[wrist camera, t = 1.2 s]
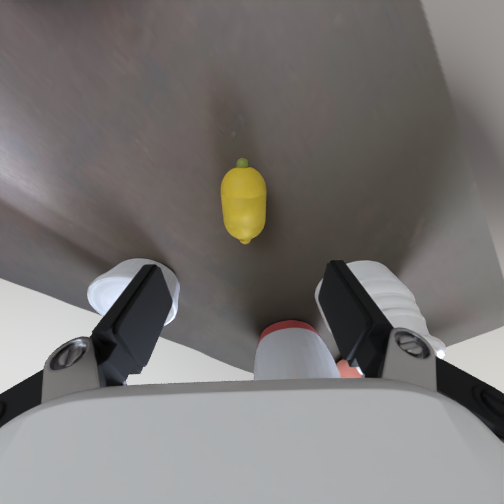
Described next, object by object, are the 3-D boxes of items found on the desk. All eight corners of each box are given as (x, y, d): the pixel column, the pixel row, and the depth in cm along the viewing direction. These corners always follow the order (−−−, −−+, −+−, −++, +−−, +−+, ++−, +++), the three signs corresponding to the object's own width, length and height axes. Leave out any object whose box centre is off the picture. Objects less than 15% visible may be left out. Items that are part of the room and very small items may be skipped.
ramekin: (187, 305, 33) (178, 332, 28) (121, 300, 31) (101, 327, 27) (184, 256, 26) (171, 281, 22) (102, 247, 25) (72, 271, 21)
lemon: (220, 155, 19) (213, 162, 15) (265, 154, 19) (270, 161, 15) (227, 234, 25) (224, 254, 21) (262, 233, 25) (266, 253, 21)
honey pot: (381, 307, 35) (483, 442, 20) (314, 316, 36) (362, 451, 21) (400, 254, 27) (583, 403, 13) (315, 267, 28) (390, 419, 14)
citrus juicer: (285, 361, 46) (306, 491, 30) (235, 335, 39) (228, 489, 22) (340, 337, 40) (406, 482, 24) (295, 300, 33) (345, 475, 16)
